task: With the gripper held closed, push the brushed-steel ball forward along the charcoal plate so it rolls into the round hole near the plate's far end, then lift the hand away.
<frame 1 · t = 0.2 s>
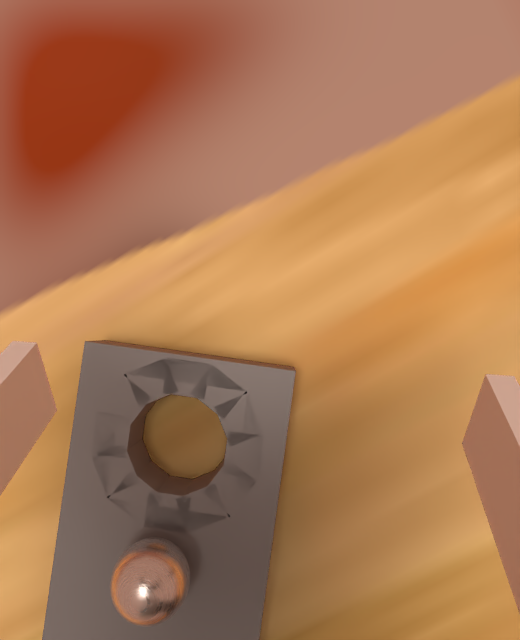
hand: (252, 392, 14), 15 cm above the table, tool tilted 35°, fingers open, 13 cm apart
ball: (150, 580, 24), point 5 cm above the table, touching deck
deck: (176, 513, 29), on the table
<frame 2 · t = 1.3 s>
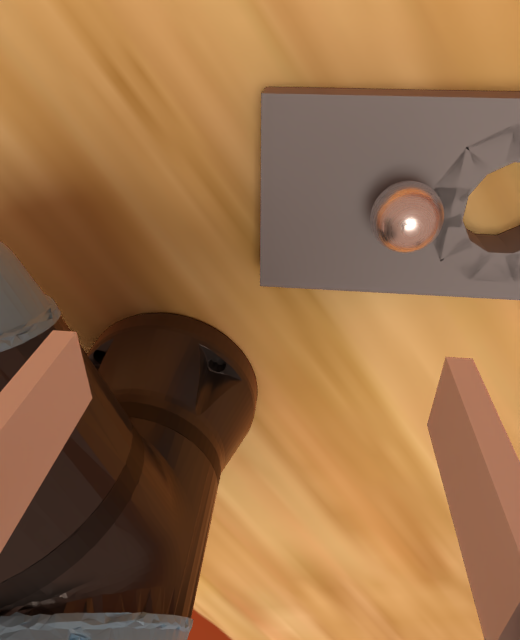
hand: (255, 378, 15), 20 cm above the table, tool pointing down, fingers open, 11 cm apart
ball: (406, 217, 27), point 5 cm above the table, touching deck
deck: (417, 191, 31), on the table
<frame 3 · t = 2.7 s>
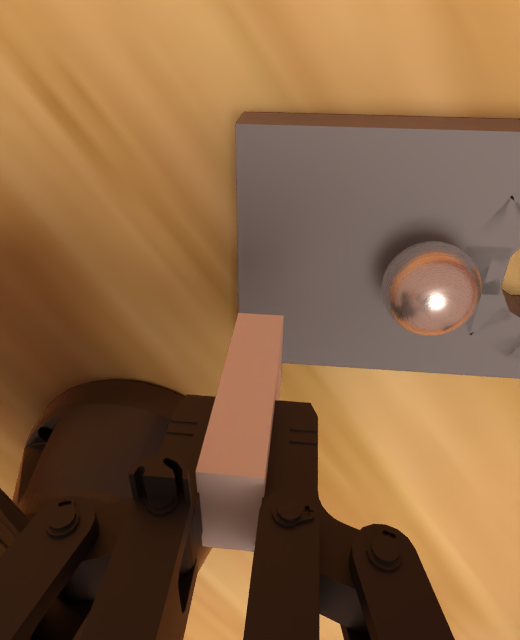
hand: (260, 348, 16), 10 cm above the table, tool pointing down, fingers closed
ball: (429, 288, 20), point 5 cm above the table, touching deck
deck: (439, 243, 24), on the table
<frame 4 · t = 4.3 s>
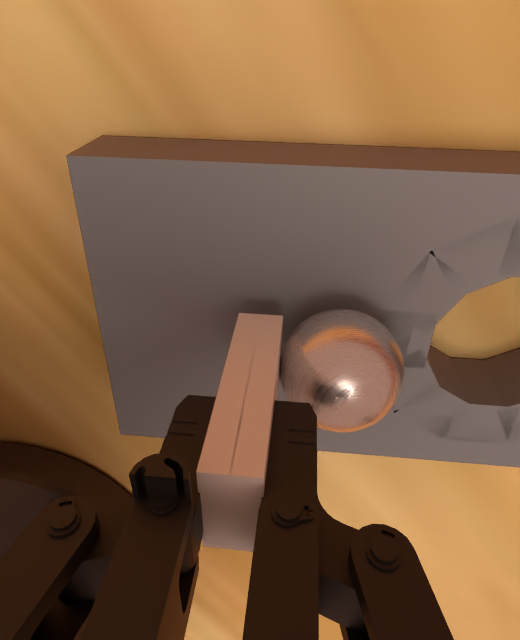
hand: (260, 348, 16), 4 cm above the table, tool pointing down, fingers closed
ball: (340, 369, 16), point 5 cm above the table, tilted 11°, touching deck, gripper
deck: (360, 297, 20), on the table
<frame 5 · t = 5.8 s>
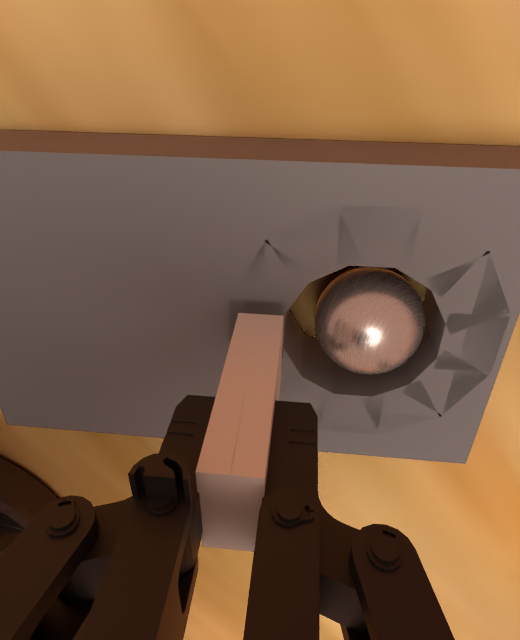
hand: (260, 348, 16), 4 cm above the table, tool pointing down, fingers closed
ball: (368, 320, 18), point 2 cm above the table, tilted 135°
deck: (234, 288, 20), on the table
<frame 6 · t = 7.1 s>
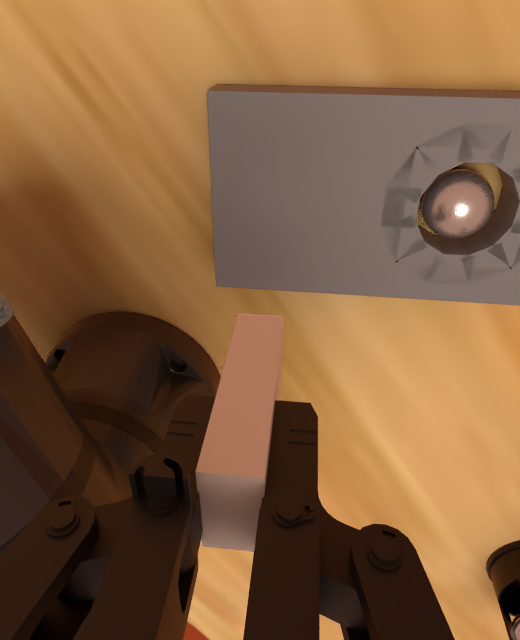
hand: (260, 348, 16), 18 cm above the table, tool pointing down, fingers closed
ball: (456, 204, 28), point 2 cm above the table, tilted 154°
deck: (374, 191, 30), on the table
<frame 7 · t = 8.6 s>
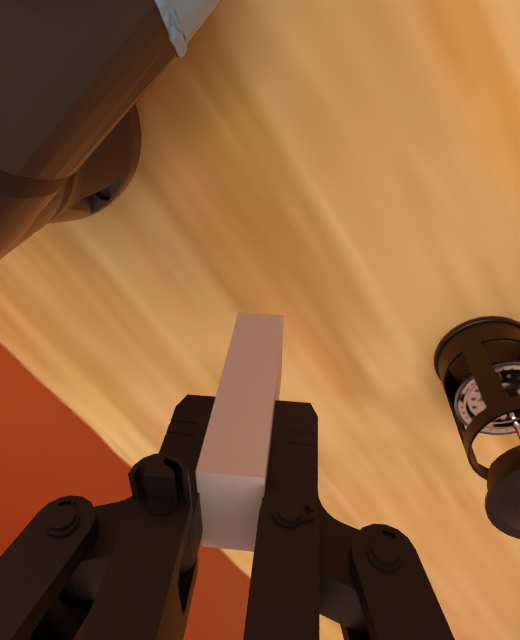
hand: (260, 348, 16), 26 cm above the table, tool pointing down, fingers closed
french press: (487, 352, 47), on the table
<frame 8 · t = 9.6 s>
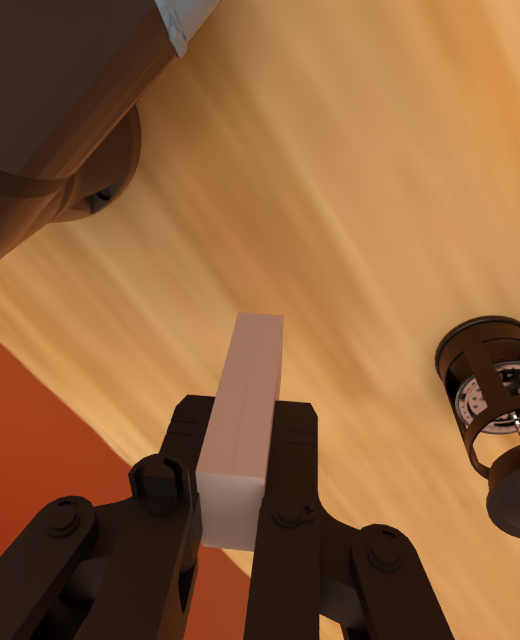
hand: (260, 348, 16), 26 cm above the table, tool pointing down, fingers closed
french press: (488, 352, 47), on the table
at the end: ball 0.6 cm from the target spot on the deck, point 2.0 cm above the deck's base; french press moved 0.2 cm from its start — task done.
